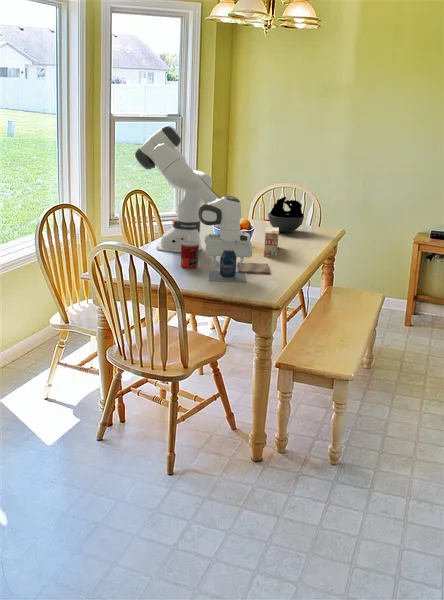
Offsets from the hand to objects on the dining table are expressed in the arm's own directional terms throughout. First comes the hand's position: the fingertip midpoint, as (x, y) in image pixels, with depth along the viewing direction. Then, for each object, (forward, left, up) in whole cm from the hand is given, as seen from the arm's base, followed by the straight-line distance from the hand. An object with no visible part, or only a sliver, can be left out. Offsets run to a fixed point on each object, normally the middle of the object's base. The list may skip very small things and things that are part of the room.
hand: (227, 266), depth 294 cm
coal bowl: (+34, +92, -5) cm, 98 cm away
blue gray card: (0, 0, -5) cm, 5 cm away
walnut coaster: (+12, +13, -5) cm, 18 cm away
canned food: (-17, +13, -5) cm, 22 cm away
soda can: (0, 0, -5) cm, 5 cm away
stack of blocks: (+23, +47, -5) cm, 52 cm away
